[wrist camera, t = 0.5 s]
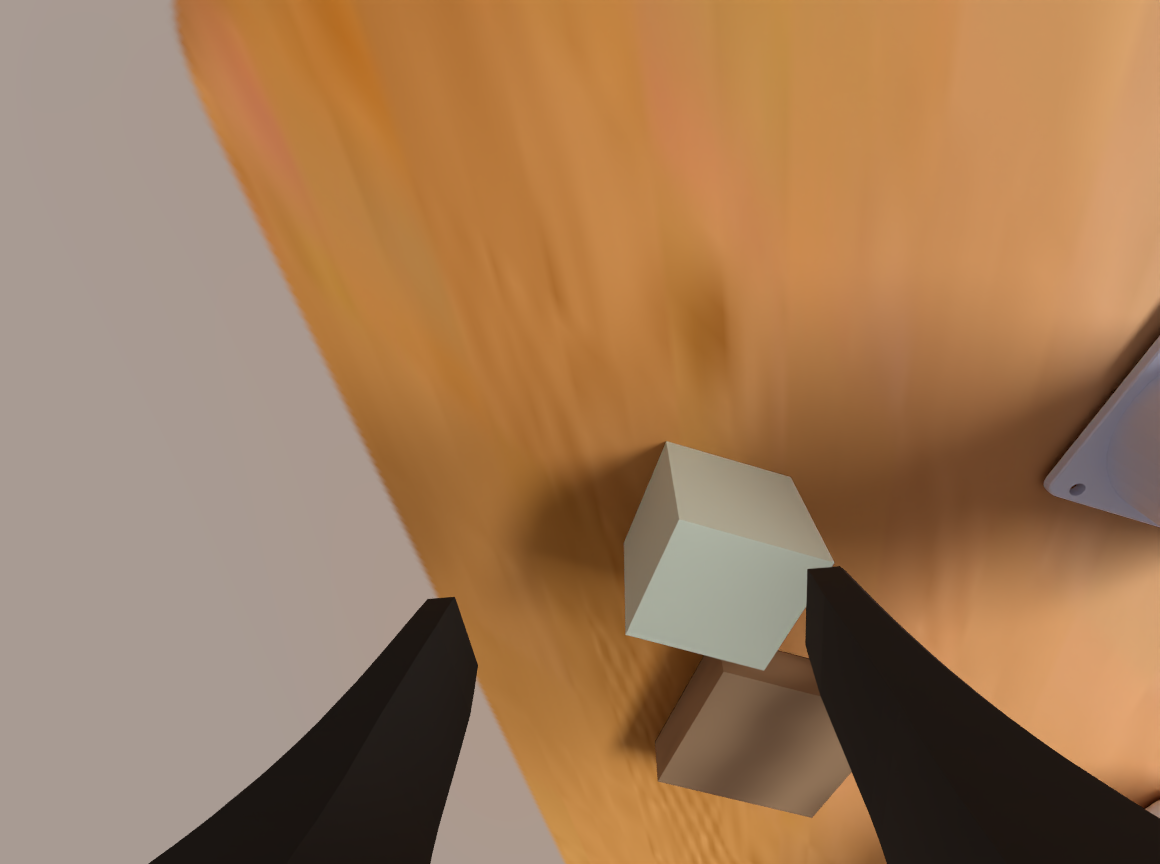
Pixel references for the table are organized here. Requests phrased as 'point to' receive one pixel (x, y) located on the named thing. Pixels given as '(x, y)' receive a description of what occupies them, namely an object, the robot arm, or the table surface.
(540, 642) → the table surface
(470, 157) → the table surface
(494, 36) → the table surface
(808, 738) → the walnut plinth
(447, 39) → the table surface
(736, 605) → the painted cube
